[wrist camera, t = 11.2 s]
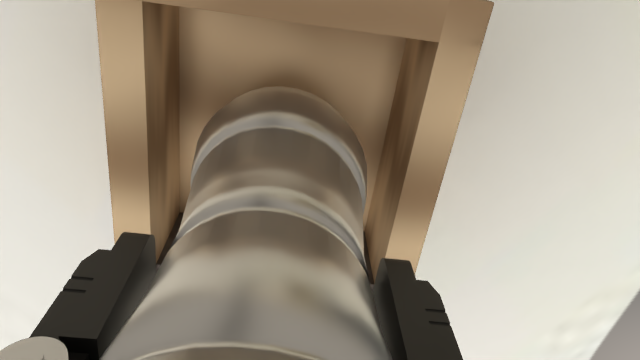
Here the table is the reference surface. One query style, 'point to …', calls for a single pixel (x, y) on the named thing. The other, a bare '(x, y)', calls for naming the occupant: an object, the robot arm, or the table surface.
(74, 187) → the table surface
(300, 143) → the metal bottle
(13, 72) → the table surface
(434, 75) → the caddy
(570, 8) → the table surface
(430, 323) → the robot arm
